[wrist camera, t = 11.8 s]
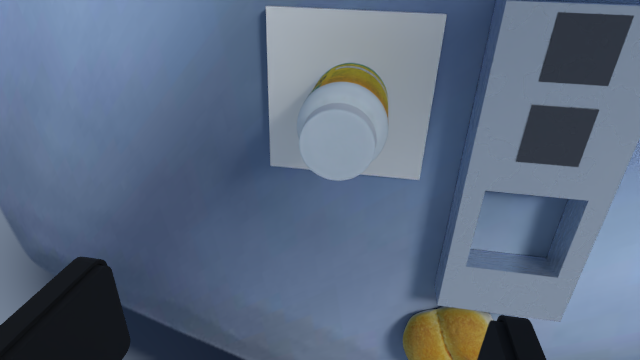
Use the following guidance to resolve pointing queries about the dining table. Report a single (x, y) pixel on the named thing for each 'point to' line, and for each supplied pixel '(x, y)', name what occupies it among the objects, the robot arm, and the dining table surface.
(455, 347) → the bread roll
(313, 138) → the supplement bottle
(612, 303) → the dining table surface
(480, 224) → the dining table surface
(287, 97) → the plate
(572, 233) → the grey board with squares
